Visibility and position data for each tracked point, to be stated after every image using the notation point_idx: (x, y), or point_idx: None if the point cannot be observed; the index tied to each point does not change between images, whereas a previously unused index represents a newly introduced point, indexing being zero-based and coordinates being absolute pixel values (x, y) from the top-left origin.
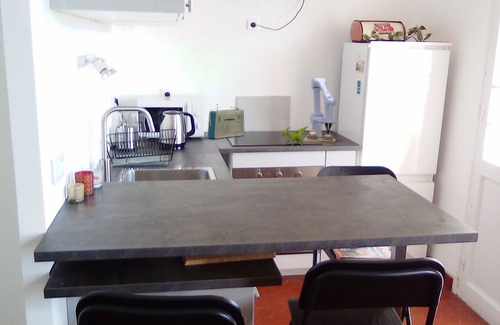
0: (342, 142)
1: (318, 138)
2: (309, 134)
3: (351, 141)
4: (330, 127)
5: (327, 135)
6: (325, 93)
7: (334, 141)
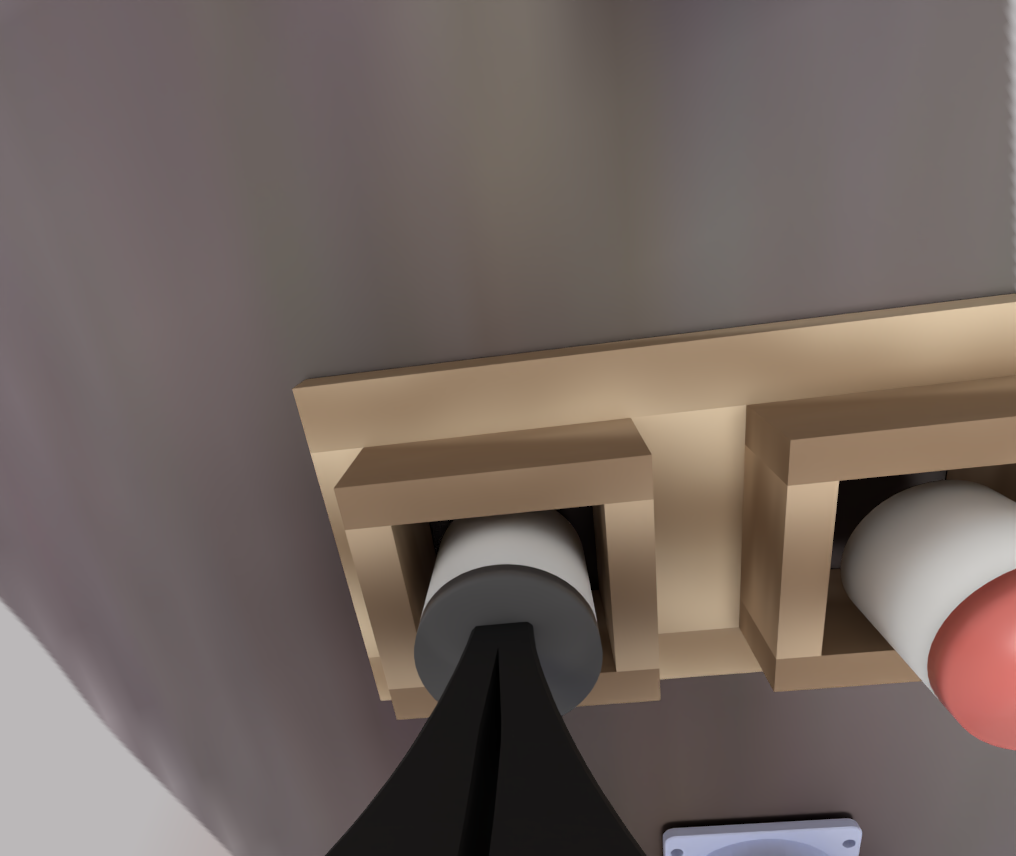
0: (174, 476)
1: (724, 599)
2: None
3: (65, 640)
4: (369, 813)
5: (507, 549)
6: None
7: (312, 383)
